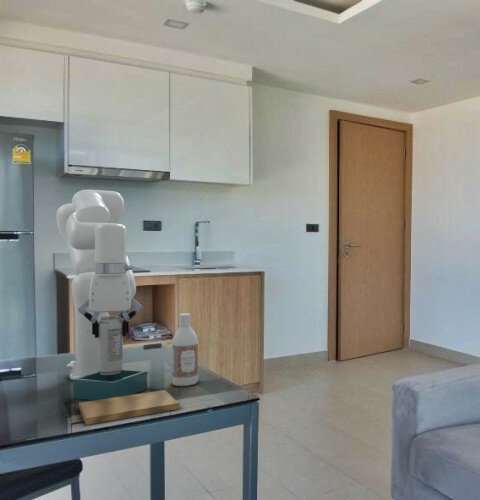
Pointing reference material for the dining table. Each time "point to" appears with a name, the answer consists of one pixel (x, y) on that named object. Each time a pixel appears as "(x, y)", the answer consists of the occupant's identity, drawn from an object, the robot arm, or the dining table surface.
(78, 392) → the teal open tray
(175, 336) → the bath foam
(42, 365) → the dining table surface
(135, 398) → the oak board
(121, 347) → the energy drink can
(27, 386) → the dining table surface
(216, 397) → the dining table surface
